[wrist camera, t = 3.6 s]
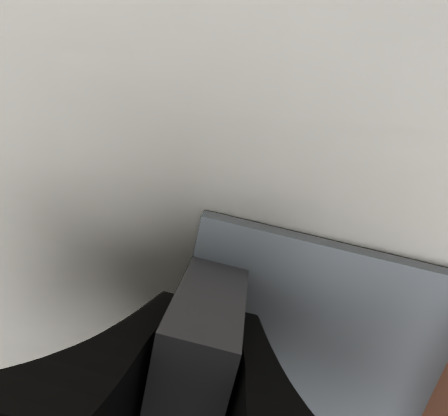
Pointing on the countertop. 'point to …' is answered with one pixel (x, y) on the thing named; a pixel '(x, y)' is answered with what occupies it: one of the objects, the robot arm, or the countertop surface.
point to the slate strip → (300, 323)
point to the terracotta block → (439, 397)
